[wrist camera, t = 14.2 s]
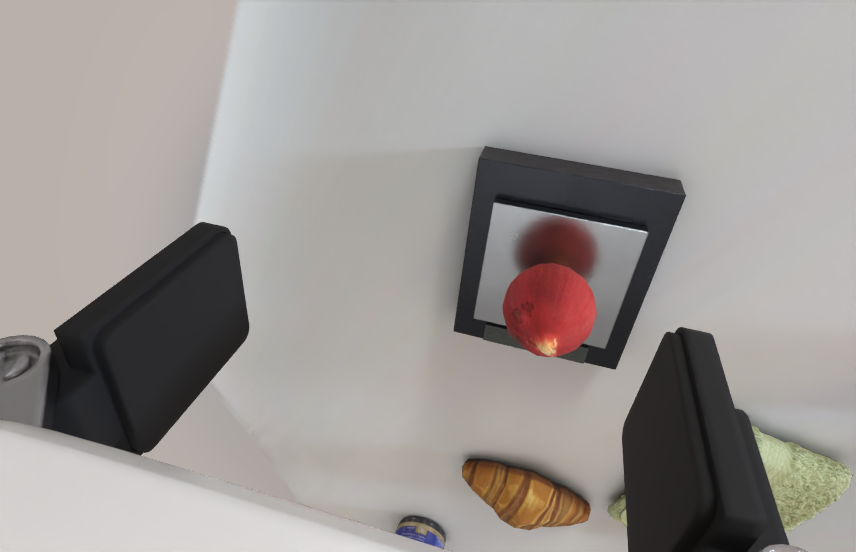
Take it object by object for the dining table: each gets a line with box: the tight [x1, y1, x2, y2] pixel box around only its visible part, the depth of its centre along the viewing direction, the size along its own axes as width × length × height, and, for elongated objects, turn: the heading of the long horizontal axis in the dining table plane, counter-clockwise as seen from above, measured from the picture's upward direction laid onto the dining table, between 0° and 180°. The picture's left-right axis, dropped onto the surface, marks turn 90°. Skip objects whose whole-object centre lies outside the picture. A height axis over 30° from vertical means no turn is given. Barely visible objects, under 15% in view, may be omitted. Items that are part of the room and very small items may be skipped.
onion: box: [503, 263, 597, 357], centre depth 33 cm, size 6×6×8 cm
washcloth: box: [608, 425, 853, 533], centre depth 46 cm, size 13×18×3 cm
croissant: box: [462, 459, 591, 530], centre depth 52 cm, size 14×7×5 cm, turn 78°
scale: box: [454, 146, 686, 369], centre depth 38 cm, size 15×13×3 cm
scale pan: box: [474, 198, 649, 349], centre depth 37 cm, size 10×10×1 cm
